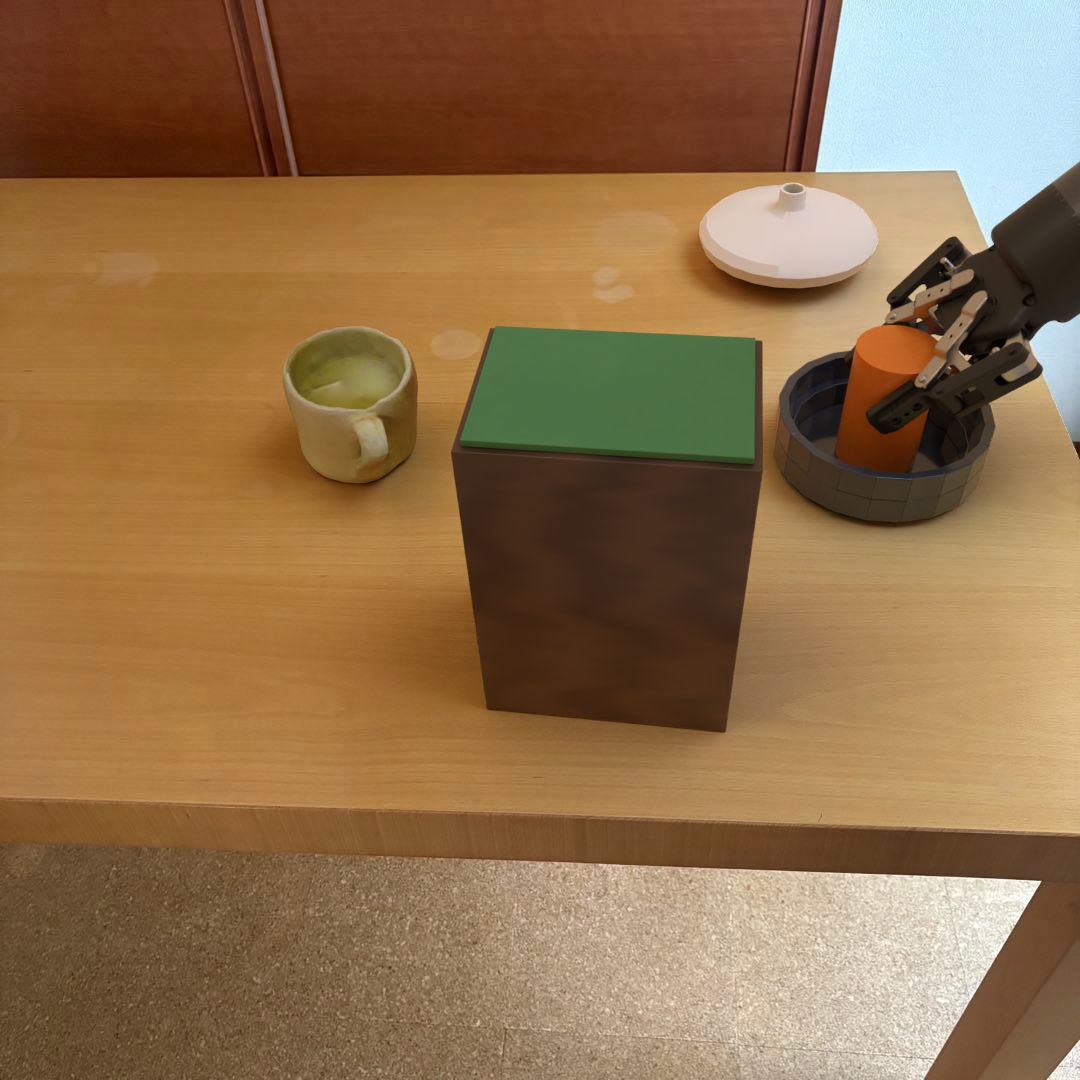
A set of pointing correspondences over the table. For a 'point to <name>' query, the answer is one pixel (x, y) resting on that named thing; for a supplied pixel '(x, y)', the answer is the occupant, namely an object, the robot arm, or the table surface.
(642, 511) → the stand
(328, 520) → the table surface
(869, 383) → the orange can
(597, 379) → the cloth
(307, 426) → the mug
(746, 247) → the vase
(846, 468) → the pot
